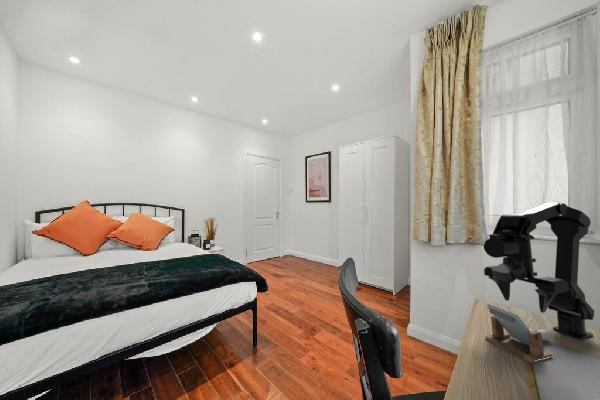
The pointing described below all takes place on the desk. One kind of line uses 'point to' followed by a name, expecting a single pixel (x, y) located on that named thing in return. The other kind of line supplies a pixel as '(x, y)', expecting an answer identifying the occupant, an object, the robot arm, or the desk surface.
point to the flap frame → (534, 345)
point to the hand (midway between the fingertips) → (523, 305)
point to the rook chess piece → (544, 334)
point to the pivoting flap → (511, 324)
